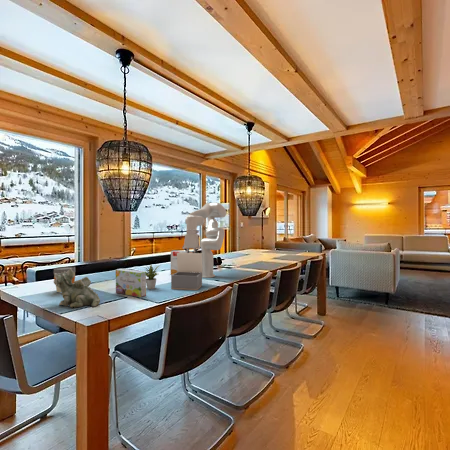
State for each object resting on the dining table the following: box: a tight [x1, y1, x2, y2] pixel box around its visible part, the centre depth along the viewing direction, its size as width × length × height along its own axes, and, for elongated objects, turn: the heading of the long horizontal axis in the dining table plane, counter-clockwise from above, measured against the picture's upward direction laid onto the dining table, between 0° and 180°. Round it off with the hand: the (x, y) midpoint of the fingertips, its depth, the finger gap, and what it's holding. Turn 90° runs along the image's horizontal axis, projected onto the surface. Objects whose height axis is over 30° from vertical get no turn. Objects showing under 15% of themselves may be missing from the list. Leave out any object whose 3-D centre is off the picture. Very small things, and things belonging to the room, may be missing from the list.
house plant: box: [143, 264, 162, 290], centre depth 201 cm, size 14×14×16 cm
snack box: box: [115, 268, 147, 298], centre depth 183 cm, size 21×6×15 cm, turn 62°
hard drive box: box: [170, 250, 191, 275], centre depth 251 cm, size 16×8×20 cm, turn 80°
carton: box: [170, 272, 203, 291], centre depth 204 cm, size 14×18×9 cm
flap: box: [177, 251, 202, 273], centre depth 213 cm, size 14×18×6 cm
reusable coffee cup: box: [53, 266, 76, 293], centre depth 190 cm, size 13×13×15 cm
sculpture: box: [53, 268, 101, 309], centre depth 161 cm, size 16×27×20 cm, turn 79°
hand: (191, 257), depth 214 cm, fingers closed on flap, 3 cm apart
